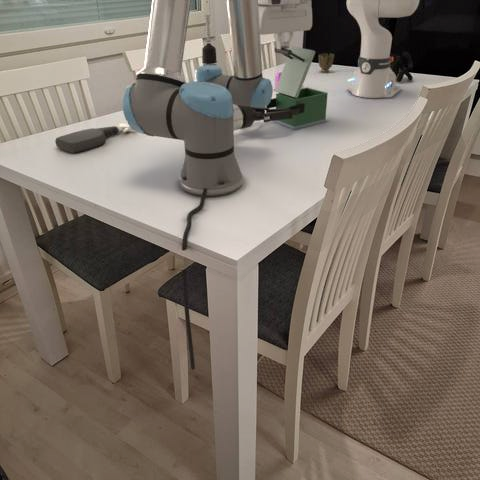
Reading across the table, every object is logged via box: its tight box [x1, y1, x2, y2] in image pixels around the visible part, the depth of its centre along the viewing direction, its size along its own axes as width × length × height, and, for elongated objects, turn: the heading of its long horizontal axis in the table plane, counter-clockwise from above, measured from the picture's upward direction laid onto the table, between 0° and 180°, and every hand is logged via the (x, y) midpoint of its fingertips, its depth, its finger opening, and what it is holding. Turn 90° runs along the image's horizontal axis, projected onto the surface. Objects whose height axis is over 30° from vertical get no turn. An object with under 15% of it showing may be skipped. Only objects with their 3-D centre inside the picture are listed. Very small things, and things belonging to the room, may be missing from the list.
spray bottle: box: [54, 123, 134, 154], centre depth 138 cm, size 3×11×24 cm
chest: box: [274, 87, 329, 130], centre depth 149 cm, size 14×10×9 cm
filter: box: [201, 14, 218, 66], centre depth 171 cm, size 6×6×30 cm
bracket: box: [274, 71, 282, 90], centre depth 190 cm, size 13×6×7 cm, turn 143°
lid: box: [274, 45, 316, 98], centre depth 138 cm, size 14×10×9 cm
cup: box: [318, 52, 335, 73], centre depth 215 cm, size 8×7×8 cm
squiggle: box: [390, 51, 414, 83], centre depth 198 cm, size 11×10×15 cm
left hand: (292, 104), depth 146 cm, fingers closed on chest, 10 cm apart
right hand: (282, 48), depth 135 cm, fingers closed, pressing on lid
